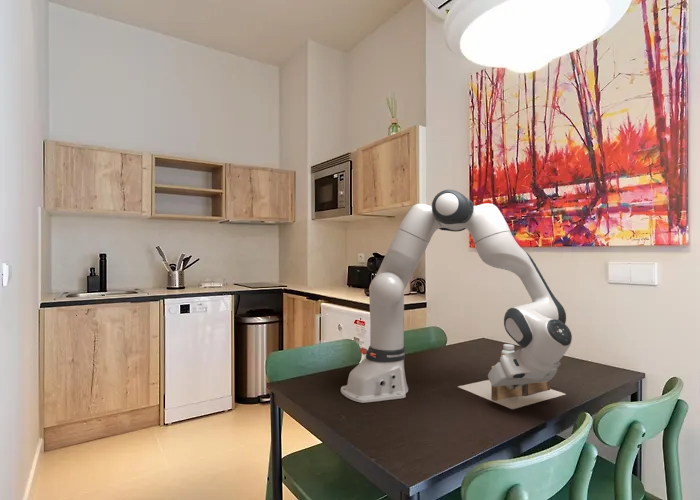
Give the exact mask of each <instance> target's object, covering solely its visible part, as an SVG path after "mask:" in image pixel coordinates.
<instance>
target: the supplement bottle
mask: <svg viewBox="0 0 700 500" xmlns="http://www.w3.org/2000/svg"><path fill="white" fill-rule="evenodd" d="M502 347H503V349H502V350H501V355H500V357H501V356H502V355H505V354H509V353H512V352H515V351H514V350H515V345H514V344H509V343H504V344H503V345H502Z"/></svg>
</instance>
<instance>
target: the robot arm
mask: <svg viewBox="0 0 700 500" xmlns="http://www.w3.org/2000/svg"><path fill="white" fill-rule="evenodd" d="M437 230H441V231H447V232H454V233H455V232H462V231H465V230H467V231H468V232H469V234H470V236H471V239H472V241H473V243H474V246H475V249H476V252H477V254H478V256H479V258H480V259H481V260H482V262H483V263H484V264H486V265H488V266H489V267H491V268H492V267H493V268H496V269H500V270H505V271H509V272H510V273H513V274H514V275H516V276H517V277H518V278H519V279H520V280H521V282H522V284H523V286H524V288H525V290H526V291H527V293H528V296H530V299H531V302H529V303H524V304H520V305H517V306H513V307H510V308H508V309H507V310H506V312H505V314H504V317H503V327H504V330H505V331H506V333H507V335H508V336H509V337H510V338H511V339H512V340H513V341H514V342H515V343H516V344H517V345H519V347H521V348H519V349H517V350H516V351H515V352H512V353H509V354H505V355H502V356H501V355H500V357H499V361H497V363H495V364H494V365H493V366H494V367H493V368H492V367H491V369H490V371H489V372H488V374H487V378H488V380H489V381H490V383H491V385H492V386H493V387H498V386H506V387H507V389H508V390H509V389H518V388H519V387H520V386H522V385H524V384H528V383H538V382H547V381H549V380H550V381H551V380H553V378H554V377H555V375H556V374H557V372H558V368H559V366H561V361H560V360H561V359H562V358H563V357H564V355H565V354H566V353H567V351H568V350H569V348H570V347H571V345H572V340H573V335H572V334H573V333H572V332H571V329H570V328H569V327H568V325H566V322H567V313H566V310H565V308H564V306H563V305H562V304H561V302H560V301H559V300H558V299H557V298H556V297H555V295H554V294H553V292H552V290H551V289H550V287H549V285H548V283H547V282H546V280H545V278H544V276H543V274H542V273H541V271H540V269H539V267H538V266H537V264H536V263H535V261H534V259H533V258H532V256H531V255H530V254H529V253H528V252H527V251H525V250H524V249H523V248H522V247H521V246H520V245H519V243H518V242H517V241H516V240H515V237H514V235H513V234H512V232H511V229H510V227H509V225H508V223H507V221H506V219H505V217H504V215H503V214H502V212H501V211H500V209H499V208H498V207H497V206H496V205H495V204H493V203H480V204H478V205H474V202H473V201H472V200H471V199H469V198H468V197H467V196H466V195H464V194H463V193H461V192H460V191H457V190H454V189H444V190H441V191H440V192H438V193H437V194H436V195H435V196H434V197H433V200H432V203H431V205H429V204H426V203H416V204H414V205H412V207H411V208H410V209H409V210H408V212H407V213H406V215H405V216H404V217H403V219H402V221H401V223H400V225H399V226H398V229H397V231H395V232H396V233H395V234H394V237H393V239H392V240H391V243H390V245H389V247H388V249H387V251H386V253H385V256H384V258H383V260H382V262H381V264H380V266H379V268H378V270H377V272H376V275H375V276H374V278H372V280H371V282H370V284H369V288H368V289H369V292H368V293H369V296H368V297H369V316H370V319H369V320H370V321H369V322H370V330H369V331H370V333H369V334H370V335H369V336H370V337H369V338H370V339H369V341H370V342H369V344H370V345H369V346H368V348H365V347H360V349H359V353H360V354H361V355H364V356H365V358H364V359H363V360H362V361H361V362H360V363H359V364H357V365H356V366H355V367H354V368H353V369H352V370H351V371H349V374H348V379H347V384H346V385H342V386H341V387H340V393H341V394H342V395H343V396H344V397H345V398H347V399H349V400H351V401H354V402H358V403H362V404H364V403H373V402H382V401H390V400H398V399H404V398H406V394H407V393H408V392H409V386H408V384H407V379H406V372H405V358H406V348H405V346H404V344H405V343H404V341H405V339H404V336H405V334H404V331H405V329H404V328H405V289H406V288H407V286H408V284H409V283H410V281H411V278H412V277H413V275H414V273H415V271H416V269H417V267H418V266H419V263H420V261H421V259H422V258H423V256H424V255H425V252H426V250H427V248H428V245H429V244H430V241H431V239H432V237H433V236H434V234H435V233H436V231H437Z"/></svg>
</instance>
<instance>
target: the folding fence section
mask: <svg viewBox="0 0 700 500" xmlns="http://www.w3.org/2000/svg"><path fill="white" fill-rule="evenodd" d="M494 366H495V365H492V366H491V369H492V368H493V367H494ZM521 395H522V386H520V387H519V388H518V389H509V390H508V389H507V387H506V386H498V387H493V386H492V385H491V399H492V400H498V399H503V398H509V397H515V396H521Z"/></svg>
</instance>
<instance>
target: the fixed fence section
mask: <svg viewBox="0 0 700 500" xmlns="http://www.w3.org/2000/svg"><path fill="white" fill-rule="evenodd" d="M550 389H551V380H549V381H547V382H538V383H528V384H524V385H522V396H527V395H530V394H533V393H537V392H541V391H545V390H550Z"/></svg>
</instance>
